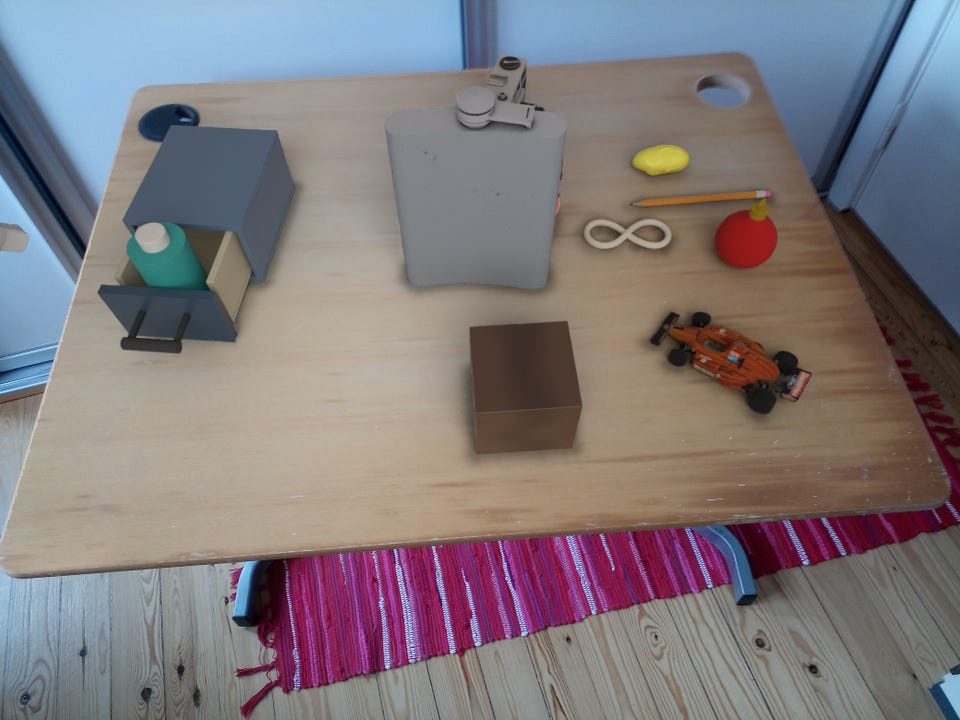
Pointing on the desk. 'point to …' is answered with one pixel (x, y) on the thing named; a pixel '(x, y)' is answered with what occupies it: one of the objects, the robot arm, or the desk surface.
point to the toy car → (734, 360)
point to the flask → (476, 190)
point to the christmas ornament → (747, 237)
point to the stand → (524, 387)
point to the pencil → (703, 198)
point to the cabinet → (219, 187)
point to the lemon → (661, 159)
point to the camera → (510, 80)
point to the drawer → (182, 297)
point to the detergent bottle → (166, 258)
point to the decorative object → (627, 234)
